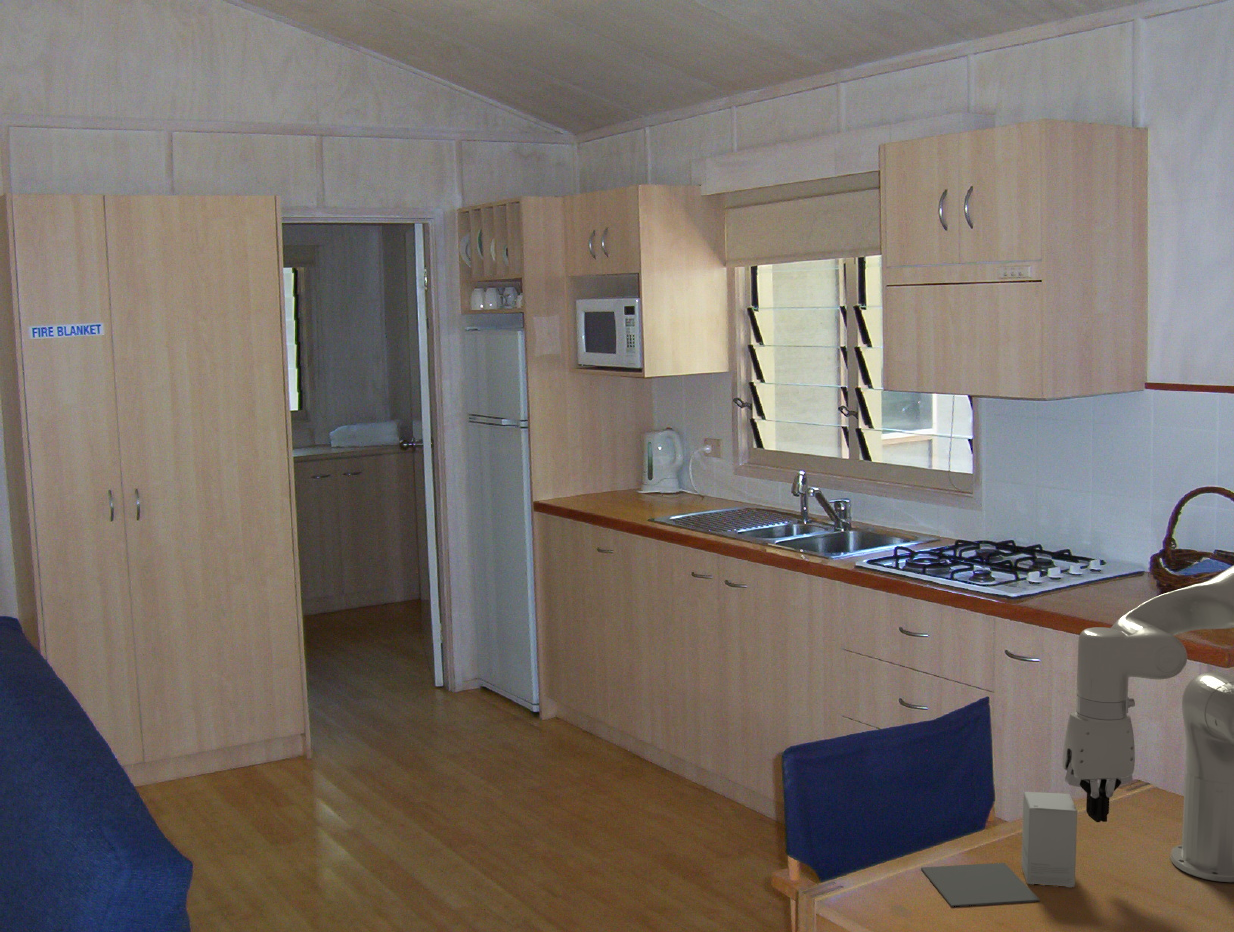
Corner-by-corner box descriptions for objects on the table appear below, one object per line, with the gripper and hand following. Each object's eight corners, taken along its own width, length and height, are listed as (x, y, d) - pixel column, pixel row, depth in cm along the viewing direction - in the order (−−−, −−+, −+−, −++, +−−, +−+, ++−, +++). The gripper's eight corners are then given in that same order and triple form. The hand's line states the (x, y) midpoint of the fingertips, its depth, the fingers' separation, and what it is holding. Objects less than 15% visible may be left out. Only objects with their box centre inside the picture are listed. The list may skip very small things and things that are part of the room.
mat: (1004, 864, 201) (1004, 862, 201) (1039, 901, 188) (1040, 899, 188) (921, 869, 199) (921, 867, 199) (951, 907, 186) (951, 905, 186)
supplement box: (1075, 889, 192) (1078, 811, 190) (1026, 885, 193) (1028, 807, 192) (1068, 868, 199) (1070, 793, 198) (1020, 864, 201) (1022, 790, 199)
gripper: (1134, 698, 198) (1129, 807, 201) (1045, 701, 197) (1041, 812, 199) (1159, 712, 191) (1154, 826, 193) (1067, 716, 189) (1063, 831, 192)
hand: (1097, 818), depth 196 cm, fingers closed
